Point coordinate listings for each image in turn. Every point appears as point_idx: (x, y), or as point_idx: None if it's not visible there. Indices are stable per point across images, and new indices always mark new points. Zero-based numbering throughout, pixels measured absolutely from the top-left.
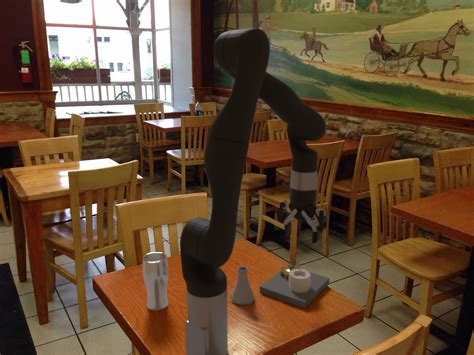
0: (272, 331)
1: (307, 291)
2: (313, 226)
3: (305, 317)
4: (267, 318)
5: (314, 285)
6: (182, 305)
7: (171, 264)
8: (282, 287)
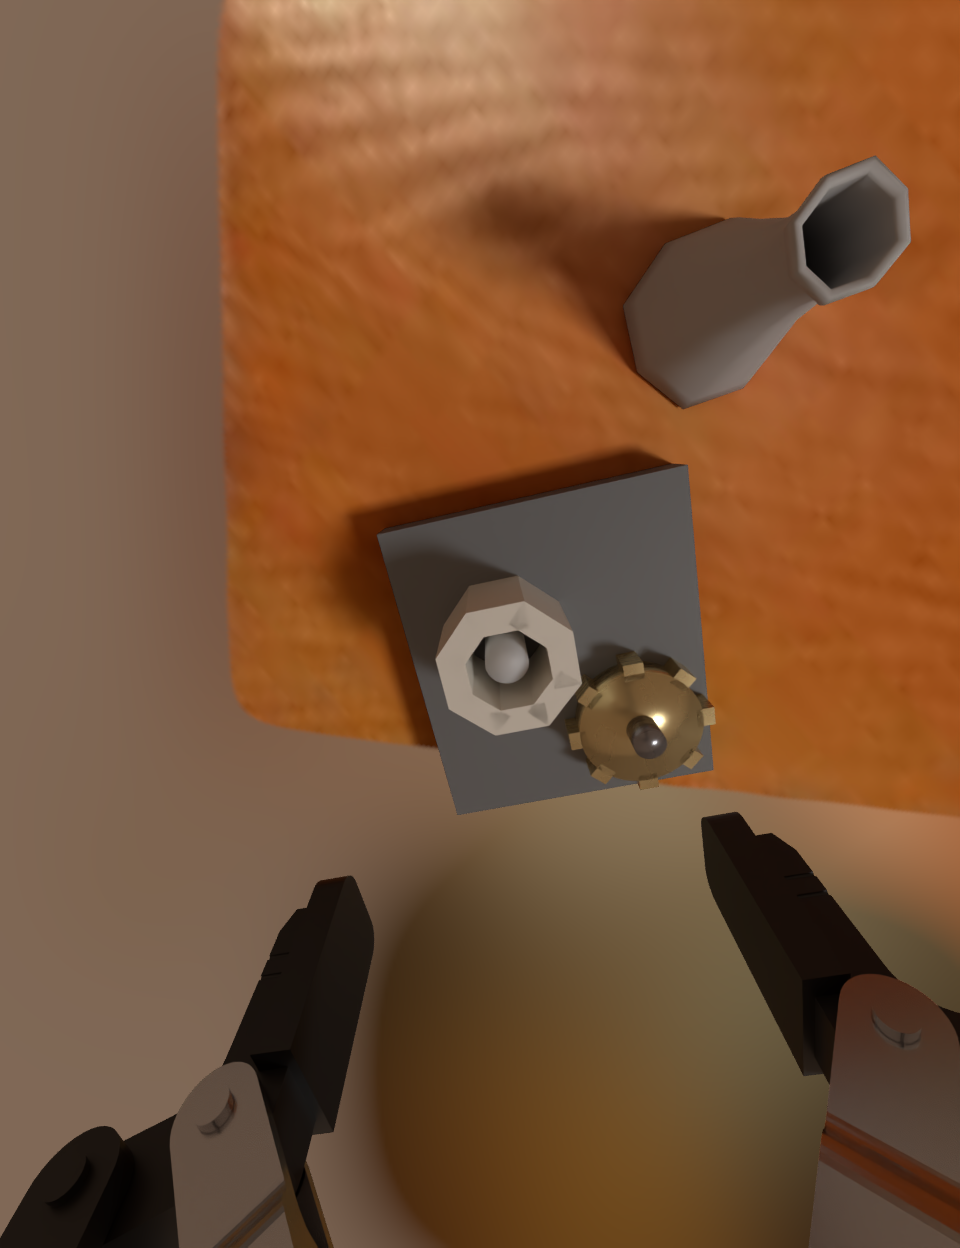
0: (334, 198)
1: None
2: (217, 1192)
3: (322, 468)
4: (448, 282)
5: None
6: None
7: None
8: (572, 562)
